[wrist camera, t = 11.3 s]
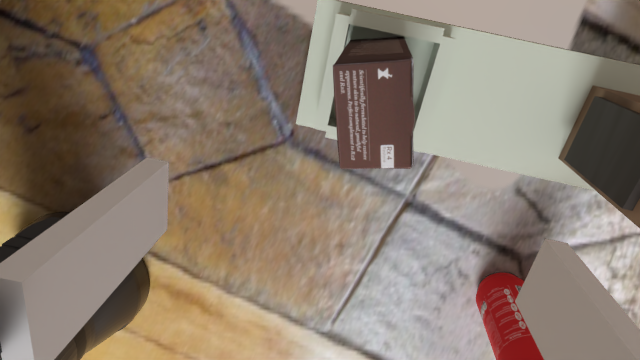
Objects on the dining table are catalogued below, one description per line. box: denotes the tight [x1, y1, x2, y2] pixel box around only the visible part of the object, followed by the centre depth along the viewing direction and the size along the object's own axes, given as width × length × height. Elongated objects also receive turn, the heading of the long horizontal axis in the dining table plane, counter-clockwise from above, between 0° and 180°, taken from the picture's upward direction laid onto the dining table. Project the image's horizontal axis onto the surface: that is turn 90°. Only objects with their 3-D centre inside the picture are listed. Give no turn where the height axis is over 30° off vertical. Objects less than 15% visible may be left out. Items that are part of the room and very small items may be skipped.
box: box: [333, 36, 415, 169], centre depth 27 cm, size 6×4×12 cm
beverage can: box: [476, 272, 544, 360], centre depth 36 cm, size 5×5×12 cm
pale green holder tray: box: [296, 0, 640, 191], centre depth 32 cm, size 30×10×4 cm, turn 79°
